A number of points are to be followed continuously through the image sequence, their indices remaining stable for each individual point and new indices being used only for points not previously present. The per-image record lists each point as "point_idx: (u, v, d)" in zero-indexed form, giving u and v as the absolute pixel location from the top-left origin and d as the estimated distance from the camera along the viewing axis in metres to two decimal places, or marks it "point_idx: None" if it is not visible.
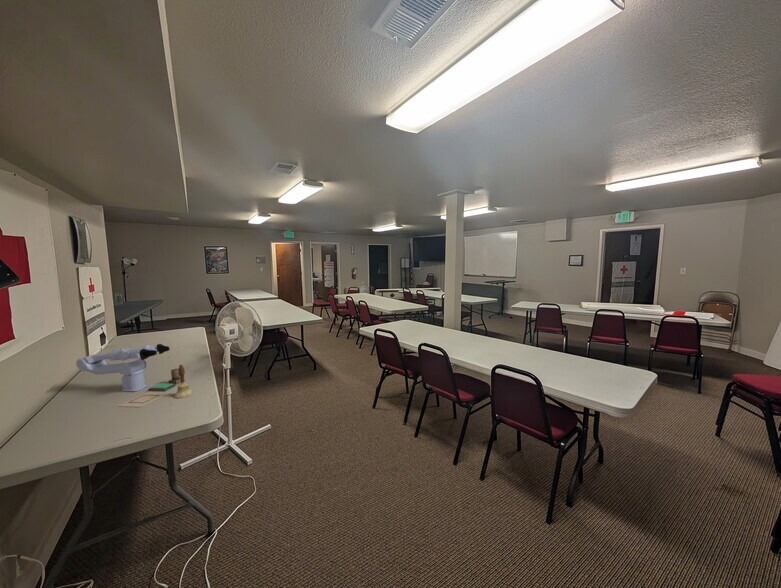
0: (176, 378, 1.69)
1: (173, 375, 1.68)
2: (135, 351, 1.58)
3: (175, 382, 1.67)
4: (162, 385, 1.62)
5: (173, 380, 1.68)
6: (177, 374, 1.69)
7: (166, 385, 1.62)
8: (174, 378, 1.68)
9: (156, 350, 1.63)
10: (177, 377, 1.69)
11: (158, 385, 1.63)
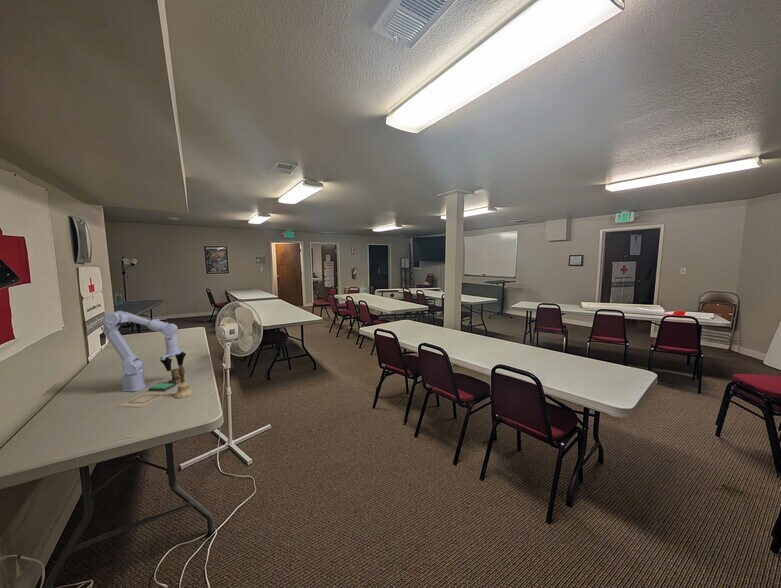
0: (176, 378, 1.69)
1: (173, 375, 1.68)
2: (173, 345, 1.66)
3: (175, 382, 1.67)
4: (162, 385, 1.62)
5: (173, 380, 1.68)
6: (177, 374, 1.69)
7: (166, 385, 1.62)
8: (174, 378, 1.68)
9: (177, 354, 1.72)
10: (177, 377, 1.69)
11: (158, 385, 1.63)
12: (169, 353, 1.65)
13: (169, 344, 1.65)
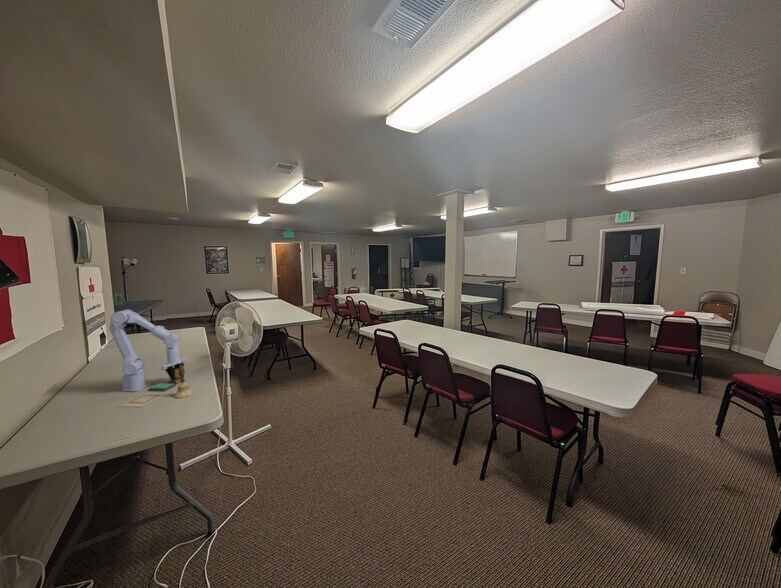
0: (176, 378, 1.69)
1: None
2: (174, 354, 1.67)
3: (175, 382, 1.67)
4: (162, 385, 1.62)
5: (173, 380, 1.68)
6: (177, 374, 1.69)
7: (166, 385, 1.62)
8: None
9: None
10: (177, 377, 1.69)
11: (158, 385, 1.63)
12: (170, 363, 1.66)
13: (170, 354, 1.66)
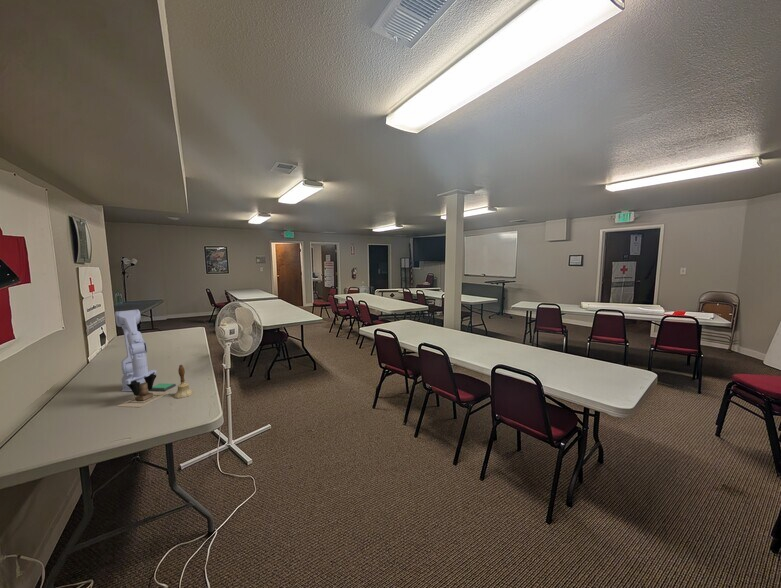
0: (144, 394, 1.48)
1: (140, 390, 1.47)
2: (134, 367, 1.45)
3: (142, 398, 1.46)
4: (162, 385, 1.62)
5: (140, 396, 1.47)
6: (145, 389, 1.48)
7: (166, 385, 1.62)
8: (141, 394, 1.47)
9: (147, 376, 1.51)
10: (145, 393, 1.48)
11: (158, 385, 1.63)
12: (136, 376, 1.45)
13: (132, 365, 1.46)
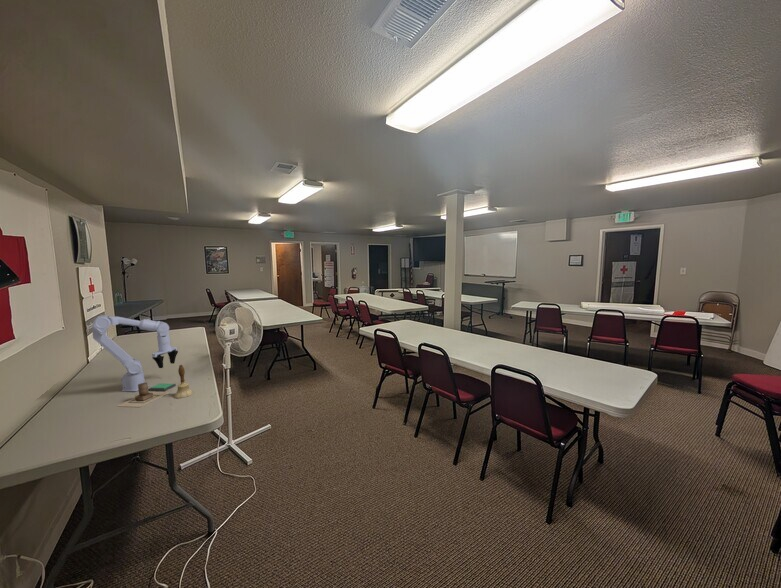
0: (144, 394, 1.48)
1: (140, 390, 1.47)
2: (167, 342, 1.70)
3: (142, 398, 1.46)
4: (162, 385, 1.62)
5: (140, 396, 1.47)
6: (145, 389, 1.48)
7: (166, 385, 1.62)
8: (141, 394, 1.47)
9: (169, 351, 1.75)
10: (145, 393, 1.48)
11: (158, 385, 1.63)
12: (161, 350, 1.68)
13: (163, 341, 1.68)
